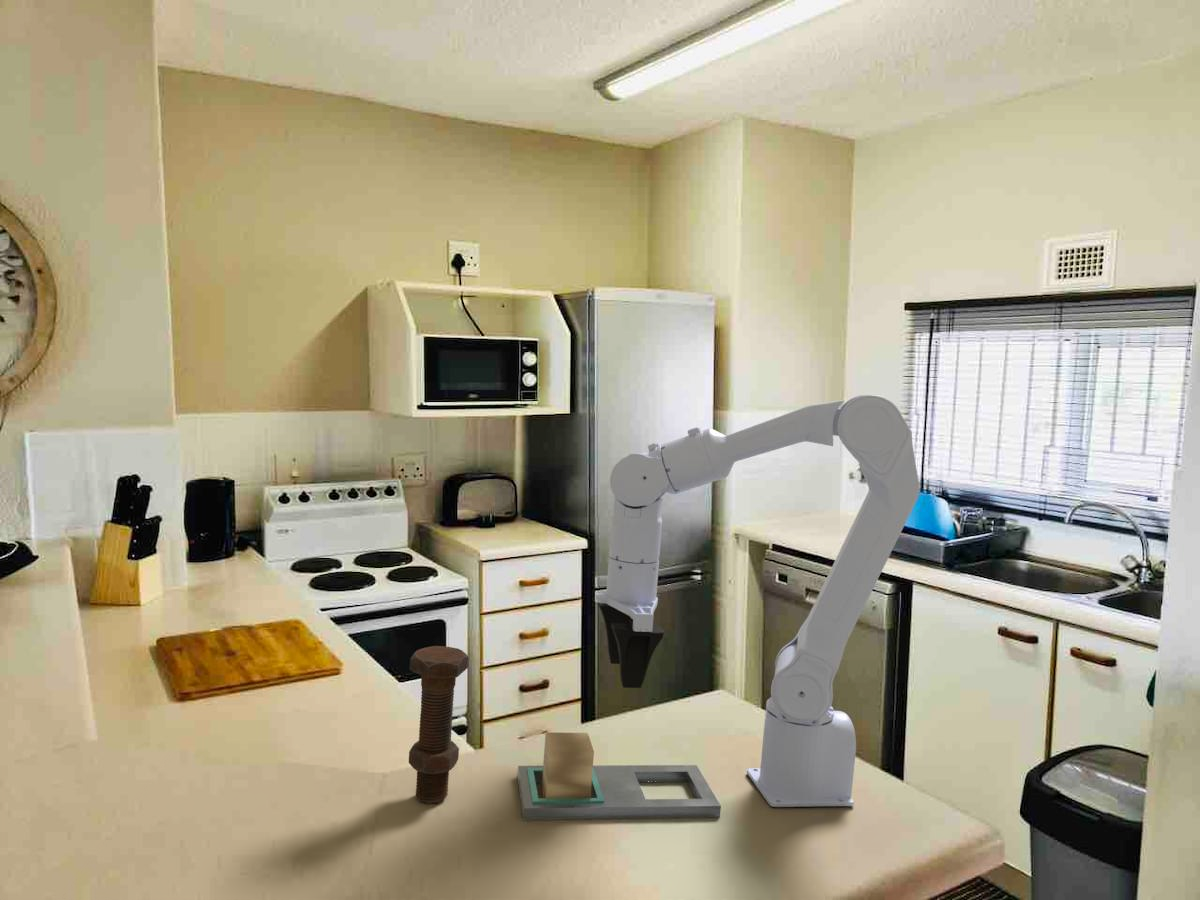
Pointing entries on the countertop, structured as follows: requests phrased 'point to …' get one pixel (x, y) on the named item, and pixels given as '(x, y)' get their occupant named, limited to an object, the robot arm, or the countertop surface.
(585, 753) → the oak block
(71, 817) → the countertop surface
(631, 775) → the grey peg insertion board
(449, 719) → the bolt
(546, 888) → the countertop surface
